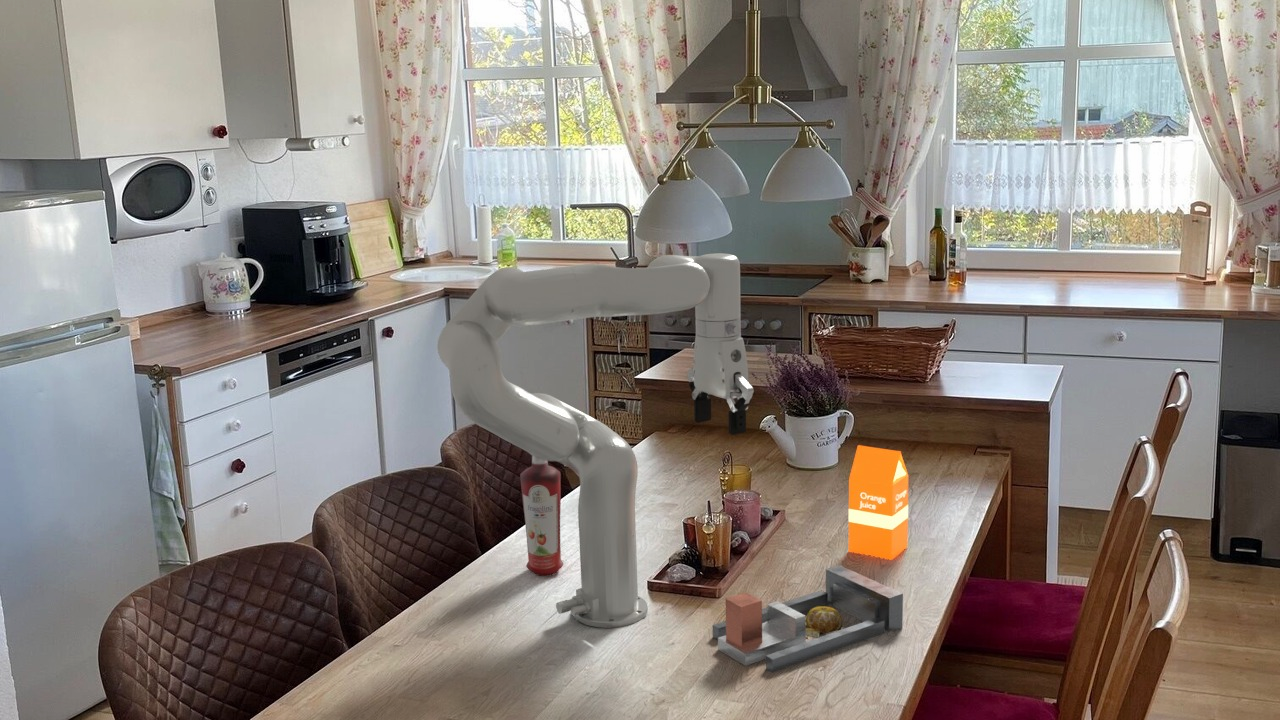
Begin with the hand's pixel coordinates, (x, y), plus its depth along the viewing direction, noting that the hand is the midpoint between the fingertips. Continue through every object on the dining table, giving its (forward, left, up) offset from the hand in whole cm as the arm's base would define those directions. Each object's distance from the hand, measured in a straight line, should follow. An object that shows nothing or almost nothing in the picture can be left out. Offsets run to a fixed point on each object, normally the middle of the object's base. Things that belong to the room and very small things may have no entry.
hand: (719, 427), depth 210 cm
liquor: (-20, +28, -31) cm, 46 cm away
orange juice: (+36, -1, -31) cm, 47 cm away
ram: (-8, -21, -30) cm, 37 cm away
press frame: (+2, -21, -30) cm, 37 cm away
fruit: (+3, -22, -31) cm, 38 cm away
